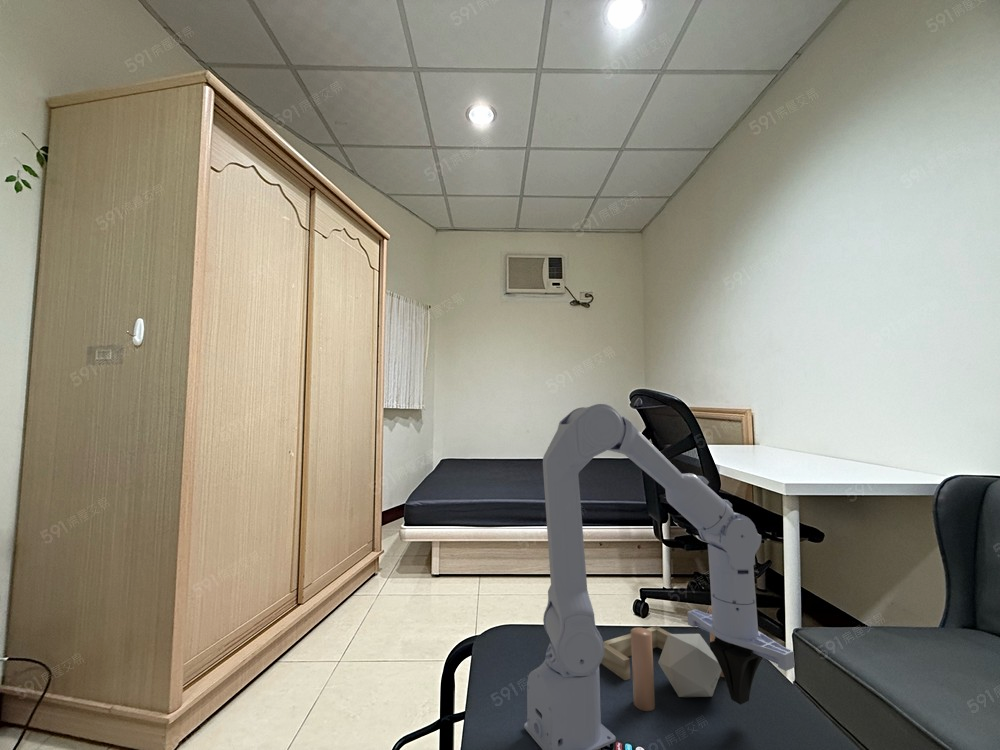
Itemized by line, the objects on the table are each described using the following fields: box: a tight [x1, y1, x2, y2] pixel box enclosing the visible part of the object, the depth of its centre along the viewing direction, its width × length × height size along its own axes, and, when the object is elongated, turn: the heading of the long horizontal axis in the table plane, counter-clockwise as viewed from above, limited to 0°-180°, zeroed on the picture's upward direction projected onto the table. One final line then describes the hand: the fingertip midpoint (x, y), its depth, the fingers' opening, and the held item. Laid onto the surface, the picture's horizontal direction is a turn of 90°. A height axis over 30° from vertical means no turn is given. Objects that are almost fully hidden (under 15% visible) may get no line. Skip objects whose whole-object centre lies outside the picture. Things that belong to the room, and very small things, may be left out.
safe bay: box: [600, 625, 672, 681], centre depth 74 cm, size 14×6×3 cm, turn 118°
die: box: [657, 633, 722, 698], centre depth 66 cm, size 8×9×10 cm
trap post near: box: [630, 626, 656, 712], centre depth 63 cm, size 3×3×10 cm
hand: (739, 699), depth 59 cm, fingers closed
